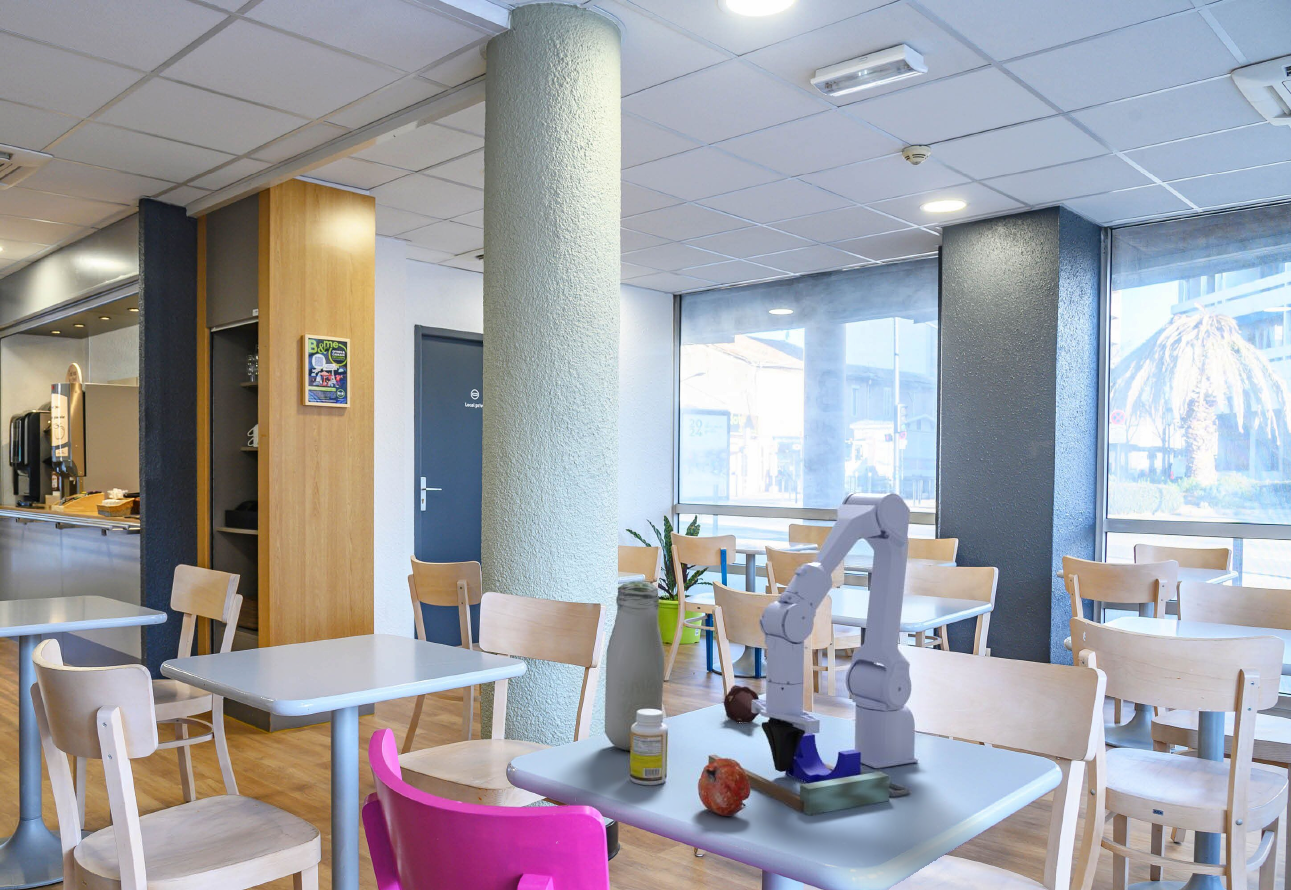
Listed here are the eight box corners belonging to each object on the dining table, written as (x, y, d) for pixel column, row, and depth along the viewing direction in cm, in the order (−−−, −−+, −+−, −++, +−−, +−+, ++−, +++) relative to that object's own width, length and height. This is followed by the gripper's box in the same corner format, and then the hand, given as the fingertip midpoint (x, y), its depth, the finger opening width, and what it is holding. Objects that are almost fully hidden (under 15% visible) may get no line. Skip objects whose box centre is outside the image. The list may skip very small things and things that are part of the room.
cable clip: (785, 773, 143) (786, 735, 143) (808, 770, 145) (808, 732, 146) (836, 797, 133) (837, 755, 133) (860, 793, 135) (860, 751, 135)
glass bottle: (610, 758, 148) (615, 584, 150) (598, 741, 158) (603, 578, 160) (669, 756, 150) (673, 584, 152) (653, 739, 160) (658, 578, 162)
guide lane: (781, 754, 153) (782, 733, 153) (889, 800, 131) (889, 775, 132) (708, 764, 146) (708, 742, 146) (808, 815, 124) (809, 788, 124)
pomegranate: (717, 816, 129) (672, 781, 125) (746, 772, 131) (703, 736, 127) (747, 840, 123) (701, 803, 119) (778, 793, 125) (733, 756, 121)
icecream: (775, 696, 168) (754, 686, 183) (737, 686, 168) (719, 677, 182) (766, 734, 167) (745, 721, 182) (728, 724, 166) (710, 711, 181)
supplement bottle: (645, 772, 141) (647, 705, 142) (674, 780, 138) (675, 711, 138) (621, 780, 137) (623, 711, 138) (650, 789, 133) (652, 717, 134)
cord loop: (852, 770, 145) (852, 765, 145) (911, 794, 134) (911, 789, 134) (834, 772, 144) (834, 768, 144) (892, 797, 133) (892, 792, 133)
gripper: (736, 673, 146) (734, 760, 146) (793, 692, 134) (791, 787, 133) (772, 670, 150) (770, 755, 149) (831, 688, 137) (829, 780, 136)
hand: (783, 769), depth 141 cm, fingers closed
